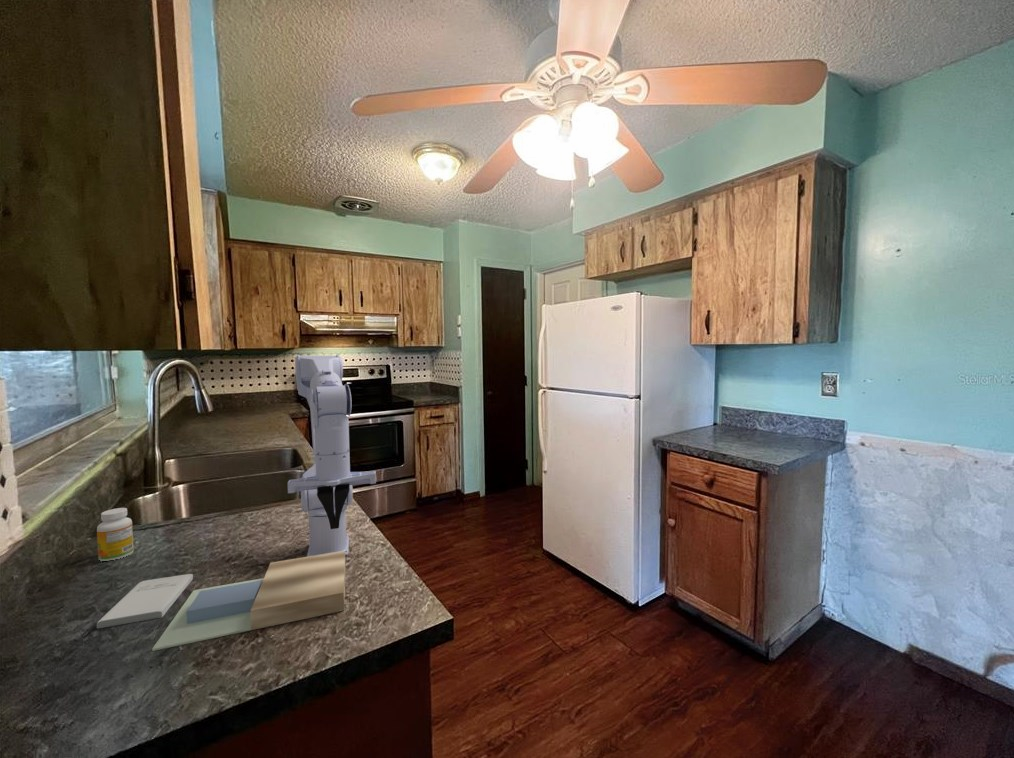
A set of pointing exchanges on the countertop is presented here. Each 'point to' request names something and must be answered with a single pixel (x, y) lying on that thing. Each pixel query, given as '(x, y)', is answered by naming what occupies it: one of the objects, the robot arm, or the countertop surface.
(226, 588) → the blue flat block
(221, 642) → the countertop surface
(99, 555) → the supplement bottle
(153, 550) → the countertop surface
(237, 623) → the mat
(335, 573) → the board
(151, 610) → the external hard drive
